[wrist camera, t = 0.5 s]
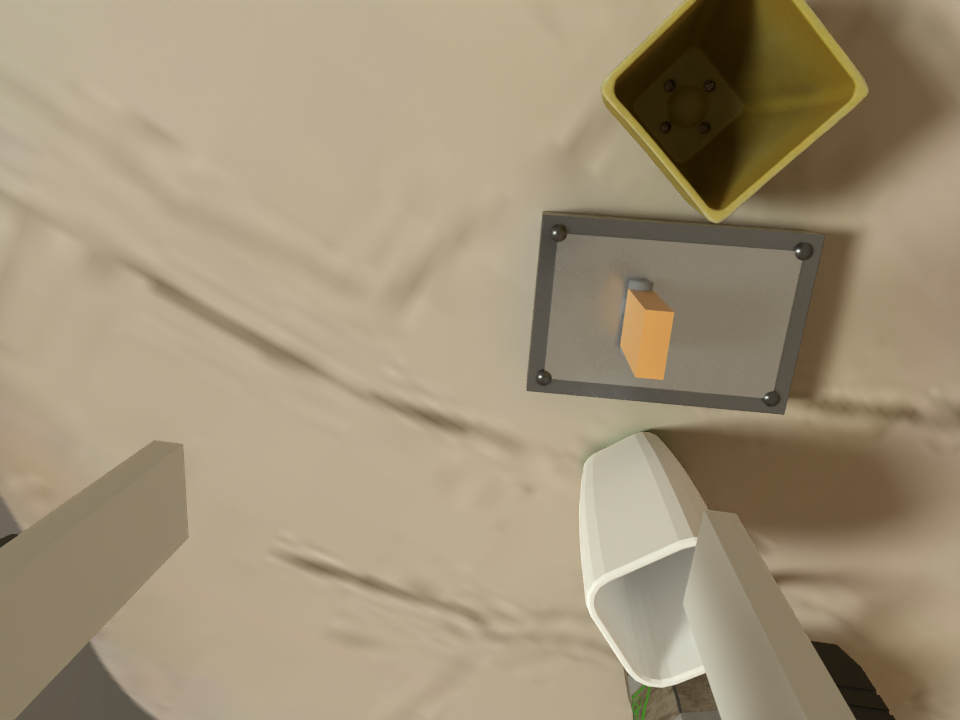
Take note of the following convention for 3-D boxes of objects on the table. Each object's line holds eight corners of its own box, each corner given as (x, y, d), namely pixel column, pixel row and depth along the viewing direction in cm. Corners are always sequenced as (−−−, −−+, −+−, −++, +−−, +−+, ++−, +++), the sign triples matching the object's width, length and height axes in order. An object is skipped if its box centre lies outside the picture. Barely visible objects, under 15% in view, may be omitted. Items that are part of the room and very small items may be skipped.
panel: (542, 211, 39) (543, 214, 36) (803, 230, 38) (826, 235, 35) (527, 376, 42) (526, 391, 39) (767, 397, 41) (785, 415, 38)
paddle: (627, 278, 36) (646, 300, 30) (651, 280, 36) (675, 303, 30) (617, 349, 38) (634, 385, 31) (640, 351, 38) (662, 388, 31)
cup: (610, 534, 45) (643, 699, 31) (561, 454, 44) (573, 590, 29) (703, 491, 43) (783, 645, 29) (655, 407, 42) (715, 526, 28)
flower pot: (796, 110, 36) (877, 90, 27) (676, 216, 38) (716, 228, 30) (701, -10, 35) (754, -70, 26) (582, 107, 37) (595, 86, 28)
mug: (736, 739, 49) (796, 909, 38) (603, 708, 50) (623, 868, 38) (805, 577, 45) (896, 715, 33) (658, 544, 45) (699, 670, 34)
